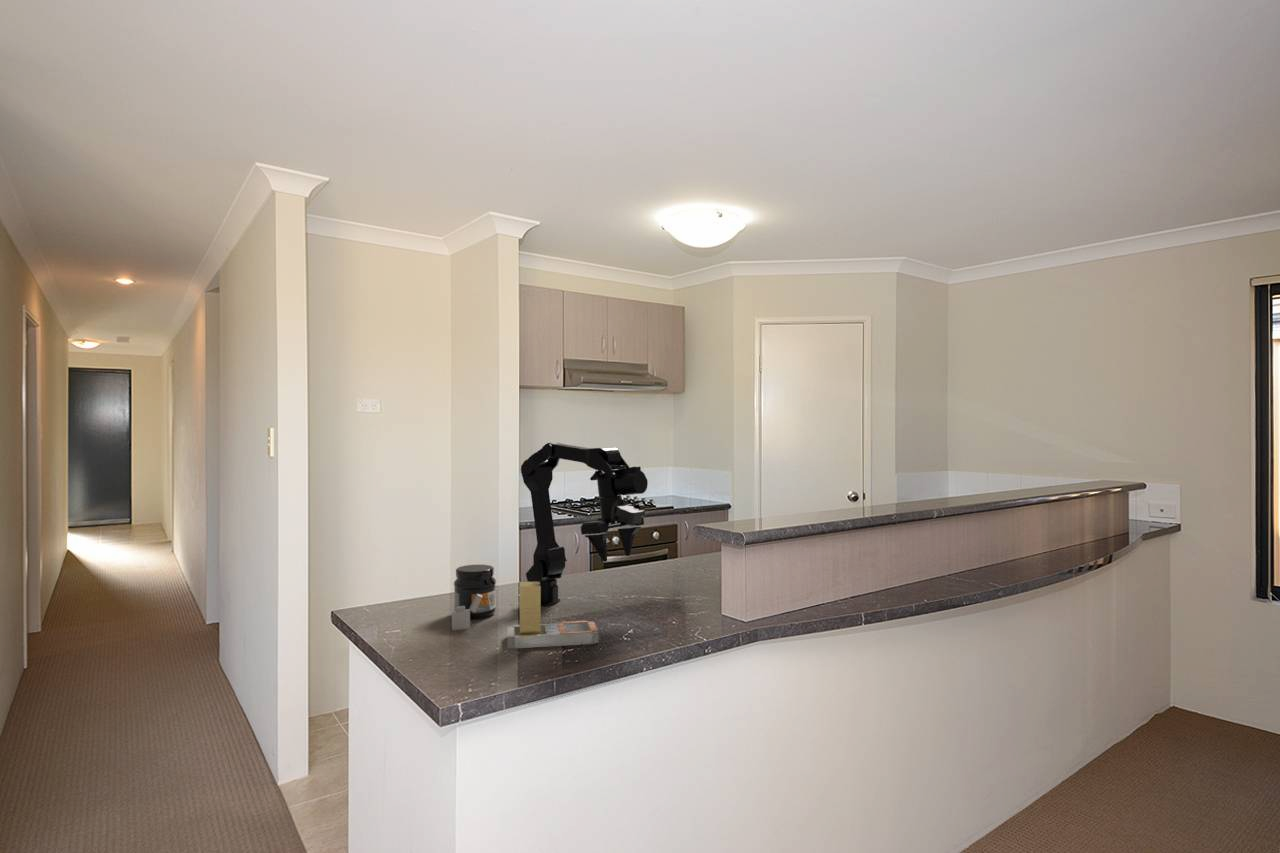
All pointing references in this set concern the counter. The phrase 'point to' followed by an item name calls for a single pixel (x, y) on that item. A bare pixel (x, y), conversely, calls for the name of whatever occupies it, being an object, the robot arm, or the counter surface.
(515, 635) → the divided tray
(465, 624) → the lighter
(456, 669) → the counter surface
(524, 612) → the tan block
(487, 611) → the supplement container
